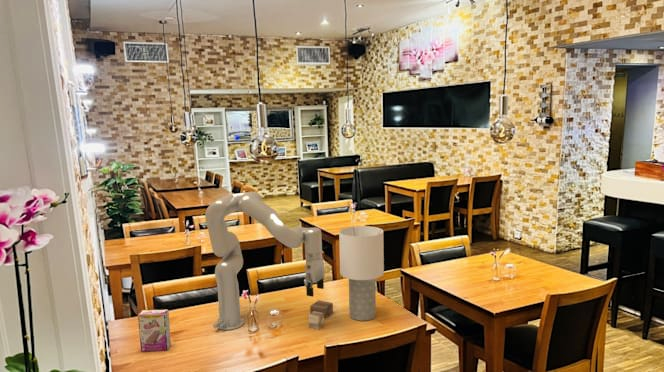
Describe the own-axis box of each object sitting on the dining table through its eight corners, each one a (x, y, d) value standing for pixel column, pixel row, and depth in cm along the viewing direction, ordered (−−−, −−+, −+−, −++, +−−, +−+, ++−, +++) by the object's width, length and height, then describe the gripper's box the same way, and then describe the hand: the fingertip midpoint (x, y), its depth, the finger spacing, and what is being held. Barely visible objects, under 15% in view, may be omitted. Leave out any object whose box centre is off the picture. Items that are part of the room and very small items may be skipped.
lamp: (373, 304, 228) (372, 224, 222) (391, 321, 208) (390, 233, 202) (335, 310, 222) (333, 228, 216) (349, 328, 202) (347, 238, 196)
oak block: (318, 329, 202) (318, 317, 201) (308, 327, 204) (308, 315, 203) (323, 325, 206) (323, 312, 205) (314, 323, 208) (313, 311, 207)
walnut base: (324, 319, 213) (324, 309, 212) (310, 315, 217) (310, 306, 216) (332, 312, 220) (332, 303, 219) (319, 309, 224) (318, 300, 223)
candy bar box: (140, 352, 186) (137, 314, 183) (145, 346, 190) (141, 309, 188) (167, 351, 186) (164, 313, 184) (171, 345, 191) (168, 308, 188)
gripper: (311, 262, 191) (313, 300, 193) (330, 251, 206) (331, 286, 209) (296, 260, 194) (298, 297, 197) (315, 249, 209) (317, 284, 212)
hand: (315, 292), depth 203 cm, fingers open, 9 cm apart
